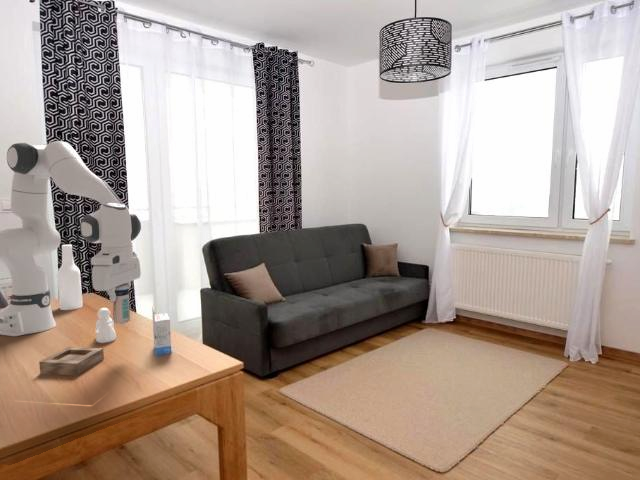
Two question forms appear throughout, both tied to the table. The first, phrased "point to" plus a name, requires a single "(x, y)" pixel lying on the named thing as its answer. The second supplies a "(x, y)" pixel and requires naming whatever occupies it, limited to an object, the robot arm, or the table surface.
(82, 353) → the brown square tray
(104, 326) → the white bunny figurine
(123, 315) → the beer can
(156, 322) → the ink box
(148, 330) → the table surface
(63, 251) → the alcohol
